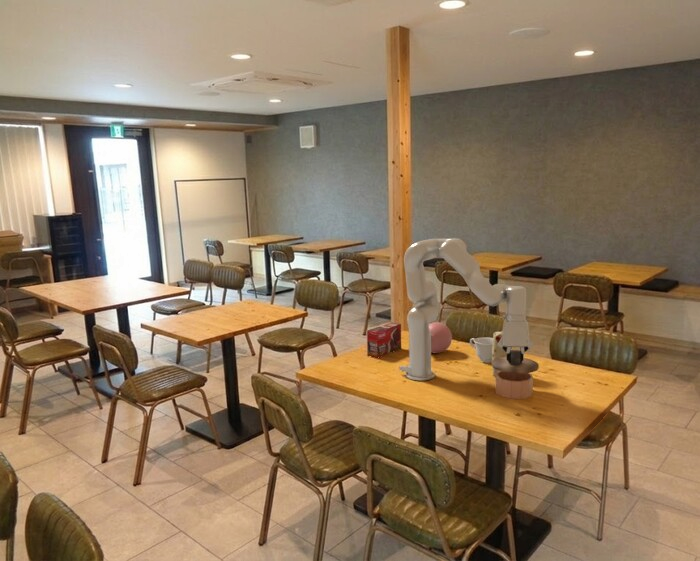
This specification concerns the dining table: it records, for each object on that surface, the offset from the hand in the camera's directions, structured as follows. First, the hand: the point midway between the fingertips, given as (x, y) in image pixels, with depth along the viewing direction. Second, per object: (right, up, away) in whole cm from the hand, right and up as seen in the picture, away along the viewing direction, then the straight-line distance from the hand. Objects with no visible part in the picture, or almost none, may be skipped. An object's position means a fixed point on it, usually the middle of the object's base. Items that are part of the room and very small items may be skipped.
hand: (514, 361), depth 217 cm
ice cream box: (-48, -4, +59) cm, 76 cm away
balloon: (-24, -4, +55) cm, 61 cm away
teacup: (-2, -6, +43) cm, 43 cm away
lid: (0, -2, 0) cm, 2 cm away
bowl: (0, -12, +2) cm, 13 cm away
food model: (+1, -9, +22) cm, 24 cm away
